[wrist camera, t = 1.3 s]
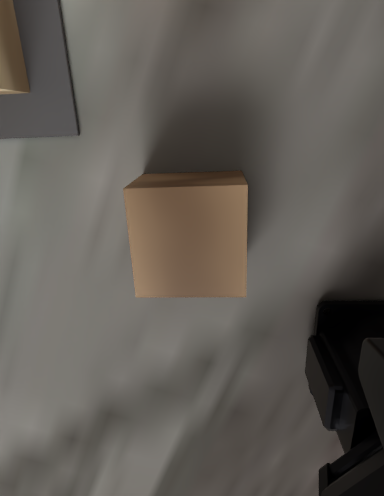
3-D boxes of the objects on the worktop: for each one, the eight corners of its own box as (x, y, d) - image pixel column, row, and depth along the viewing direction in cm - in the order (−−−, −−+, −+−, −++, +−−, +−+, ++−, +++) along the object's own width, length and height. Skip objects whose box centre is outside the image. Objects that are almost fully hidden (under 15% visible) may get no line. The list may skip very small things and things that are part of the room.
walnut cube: (241, 170, 17) (247, 184, 13) (240, 261, 19) (246, 297, 15) (143, 173, 17) (123, 188, 14) (151, 262, 19) (135, 297, 15)
